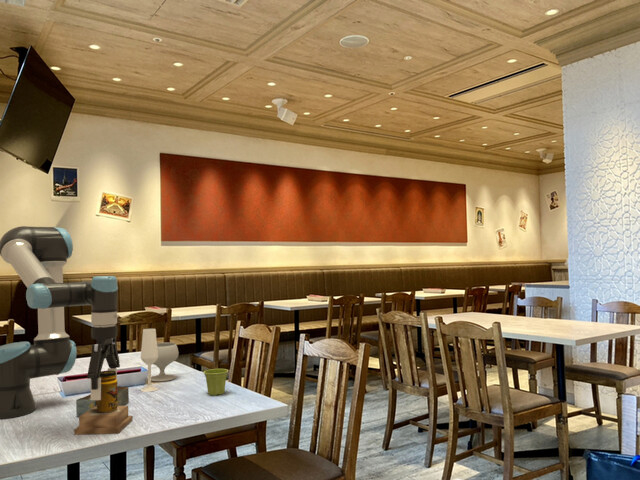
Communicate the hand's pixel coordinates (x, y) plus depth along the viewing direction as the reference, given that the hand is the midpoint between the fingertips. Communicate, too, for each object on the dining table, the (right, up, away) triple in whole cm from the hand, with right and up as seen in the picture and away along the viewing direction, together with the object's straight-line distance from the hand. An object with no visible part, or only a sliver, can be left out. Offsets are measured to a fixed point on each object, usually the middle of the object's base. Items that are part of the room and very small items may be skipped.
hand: (104, 394), depth 165 cm
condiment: (0, -5, -1) cm, 5 cm away
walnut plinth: (0, -10, 0) cm, 10 cm away
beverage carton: (-8, -12, +20) cm, 24 cm away
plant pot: (+27, -11, +39) cm, 49 cm away
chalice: (-2, -13, +66) cm, 68 cm away
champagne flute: (-1, -12, +47) cm, 49 cm away
